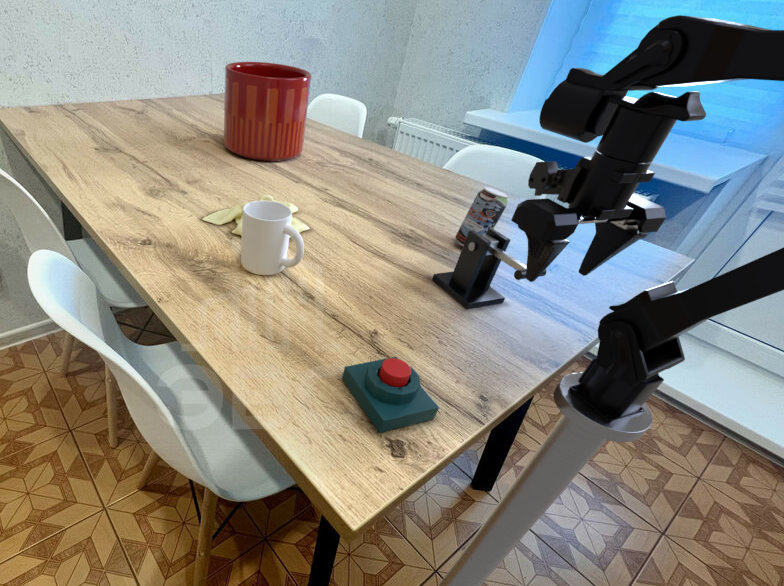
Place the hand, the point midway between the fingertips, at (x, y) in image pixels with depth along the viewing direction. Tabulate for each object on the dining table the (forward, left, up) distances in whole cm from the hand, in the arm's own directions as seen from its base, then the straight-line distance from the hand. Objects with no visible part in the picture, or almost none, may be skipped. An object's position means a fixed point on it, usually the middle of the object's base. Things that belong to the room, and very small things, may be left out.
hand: (556, 277), depth 62 cm
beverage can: (+32, -17, -13) cm, 38 cm away
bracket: (+17, -4, -13) cm, 21 cm away
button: (-3, +25, -9) cm, 27 cm away
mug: (+32, +28, -13) cm, 44 cm away
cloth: (+51, +24, -13) cm, 58 cm away
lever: (+12, -4, -5) cm, 13 cm away
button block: (-3, +25, -13) cm, 29 cm away
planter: (+98, +6, -13) cm, 99 cm away
